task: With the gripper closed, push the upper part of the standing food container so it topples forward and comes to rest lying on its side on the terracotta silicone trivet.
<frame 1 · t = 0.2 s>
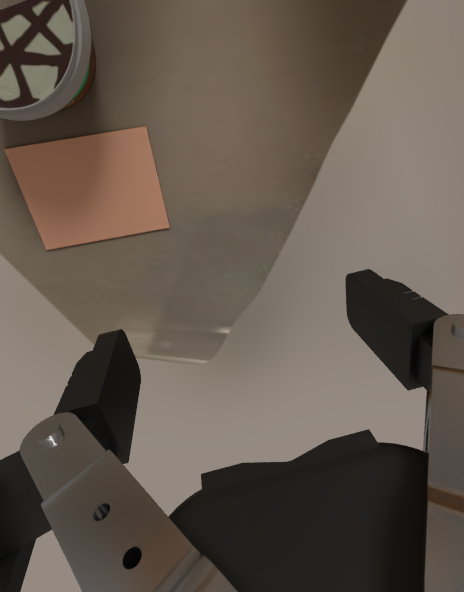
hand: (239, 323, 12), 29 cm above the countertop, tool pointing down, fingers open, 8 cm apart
trivet: (93, 191, 36), on the countertop
food container: (60, 85, 31), on the countertop
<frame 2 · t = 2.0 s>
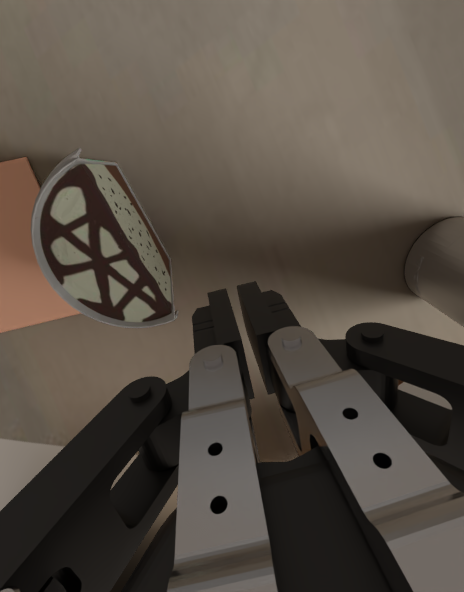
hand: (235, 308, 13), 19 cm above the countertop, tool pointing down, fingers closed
trivet: (5, 254, 29), on the countertop
grey refrigerator: (393, 403, 45), on the countertop
food container: (115, 228, 30), on the countertop
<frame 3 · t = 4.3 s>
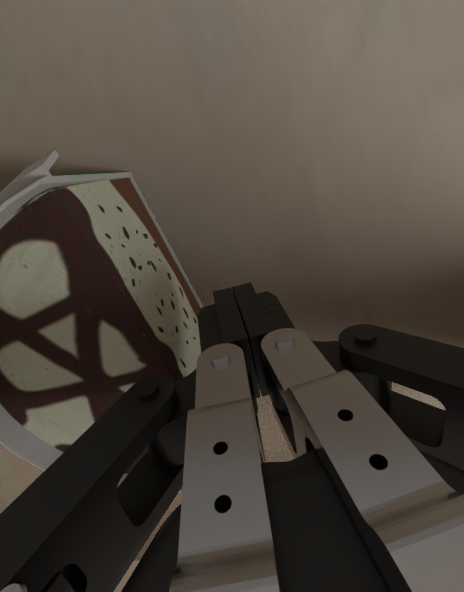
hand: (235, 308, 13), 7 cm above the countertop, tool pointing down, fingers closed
food container: (125, 275, 19), on the countertop, touching gripper
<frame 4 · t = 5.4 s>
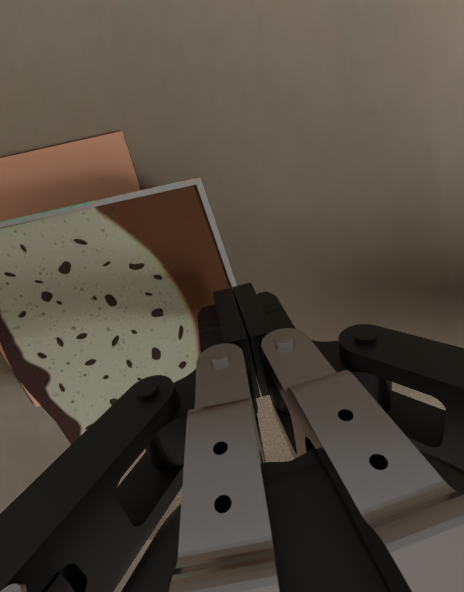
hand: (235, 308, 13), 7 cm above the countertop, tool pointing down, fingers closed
trivet: (73, 289, 18), on the countertop
food container: (224, 271, 17), point 2 cm above the countertop, touching trivet
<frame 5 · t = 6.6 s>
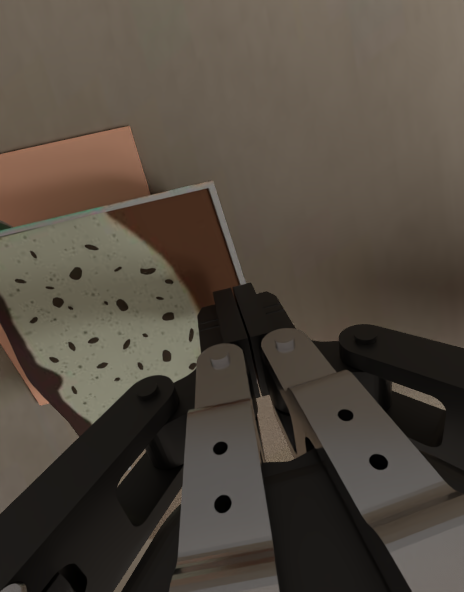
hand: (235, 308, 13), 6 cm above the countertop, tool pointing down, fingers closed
trivet: (78, 287, 18), on the countertop
food container: (232, 270, 17), point 2 cm above the countertop, touching trivet
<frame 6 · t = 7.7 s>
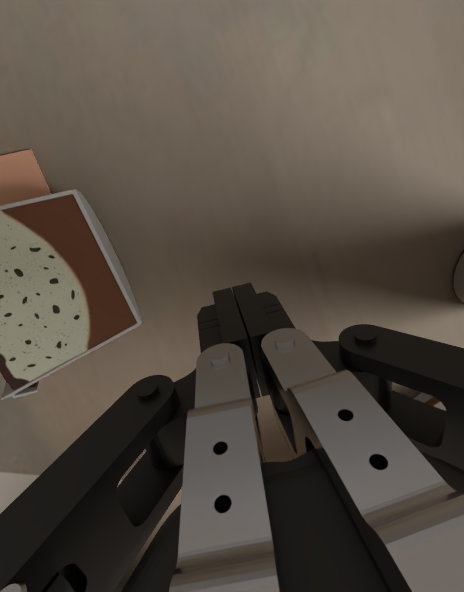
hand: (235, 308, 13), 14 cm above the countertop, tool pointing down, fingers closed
trivet: (5, 266, 24), on the countertop
food container: (115, 252, 24), point 2 cm above the countertop, touching trivet
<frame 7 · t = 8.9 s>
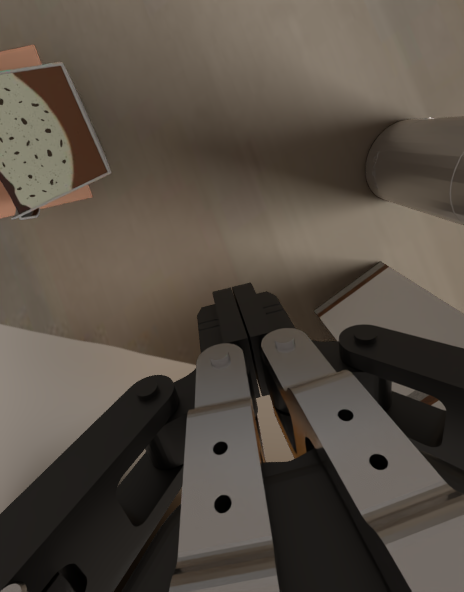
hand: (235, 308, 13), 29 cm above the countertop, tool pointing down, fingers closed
trivet: (15, 139, 34), on the countertop
grey refrigerator: (362, 309, 50), on the countertop
food container: (93, 125, 33), point 2 cm above the countertop, touching trivet
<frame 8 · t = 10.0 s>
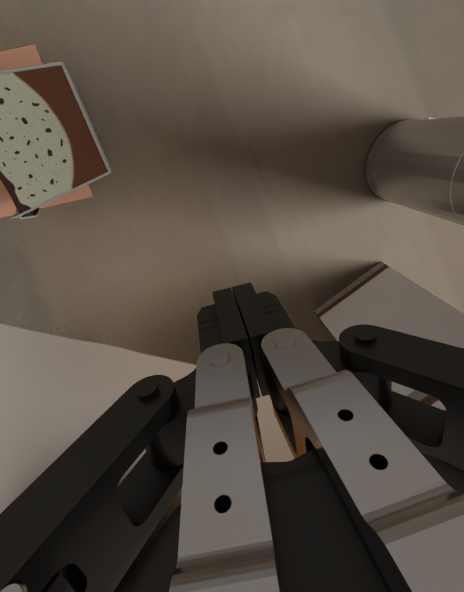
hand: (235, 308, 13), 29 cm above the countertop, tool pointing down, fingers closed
trivet: (15, 139, 34), on the countertop
grey refrigerator: (362, 310, 50), on the countertop
food container: (94, 125, 33), point 2 cm above the countertop, touching trivet
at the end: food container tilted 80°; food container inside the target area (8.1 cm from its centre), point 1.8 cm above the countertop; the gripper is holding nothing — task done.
